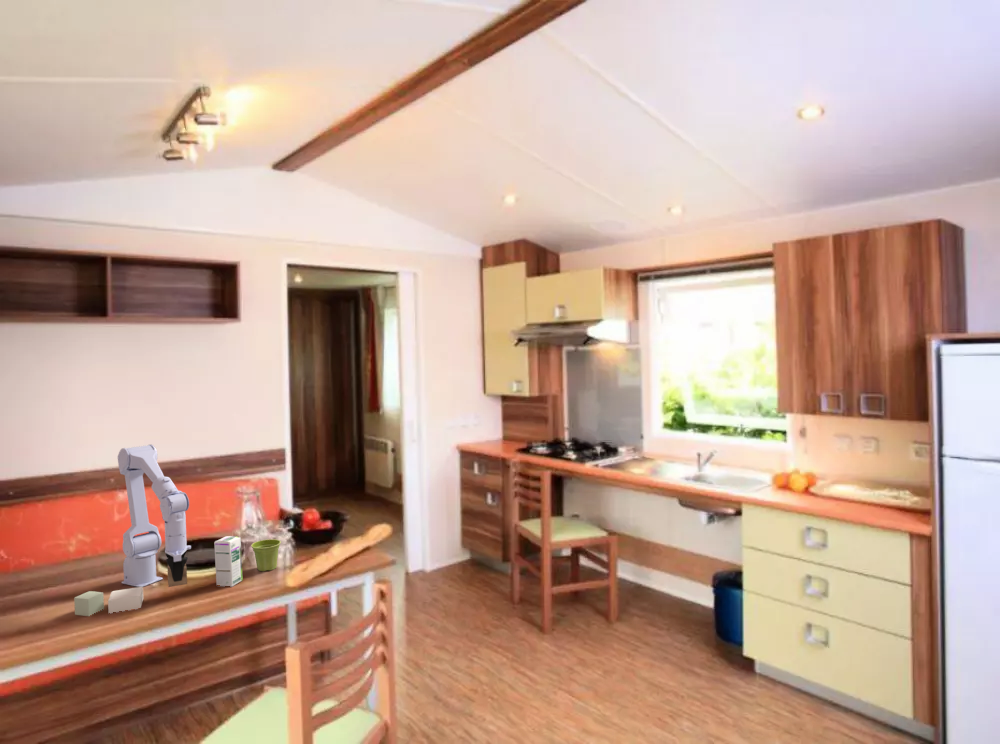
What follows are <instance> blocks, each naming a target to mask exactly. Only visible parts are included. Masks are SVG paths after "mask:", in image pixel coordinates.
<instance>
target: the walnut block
mask: <svg viewBox="0 0 1000 744" xmlns="http://www.w3.org/2000/svg"><path fill="white" fill-rule="evenodd" d="M167 583H168V584H167V586H168V588H170V587H171V588H173V587H178V586H182V585H187V584H188V572H187V563H186V564H185V566H184V570H183V577H182V581H176V582H174V581H173V577H172V572H171V569H170V567H169V565H167Z"/></svg>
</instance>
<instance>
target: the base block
mask: <svg viewBox="0 0 1000 744" xmlns="http://www.w3.org/2000/svg"><path fill="white" fill-rule="evenodd" d="M143 601H144V586H143V587H132V588H124V589H119V590H118V589H117V590H113V591H111V592H110V595H109V598H108V600H107V605H108V606H107V608H108V610H107V611H108V614H109V613H110V614H113V612H116V613H120V612H119V611H122V612H126V611H125V610H128V611H132V610H131V609H135V610H139V609H138V608H141V609H142V605H143Z"/></svg>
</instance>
